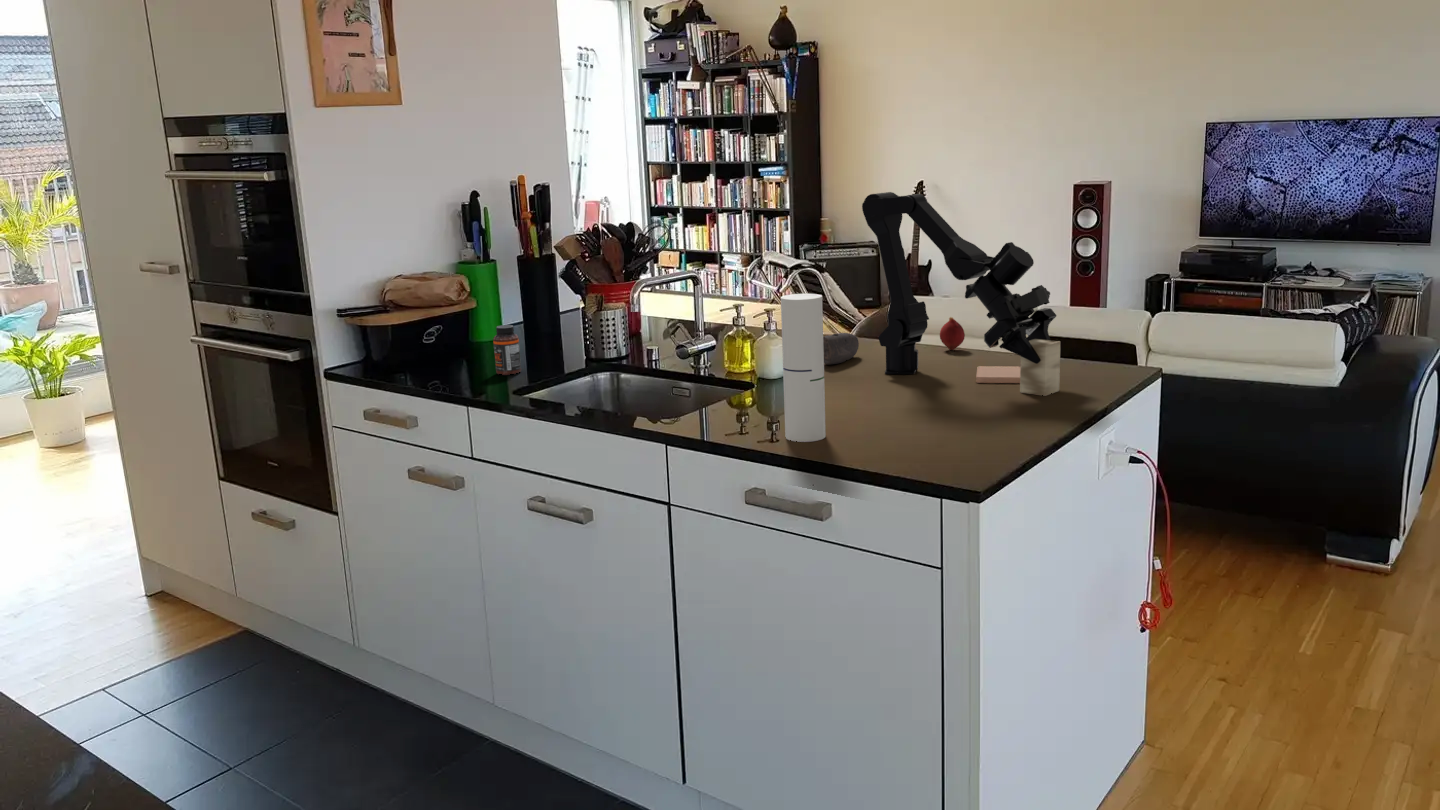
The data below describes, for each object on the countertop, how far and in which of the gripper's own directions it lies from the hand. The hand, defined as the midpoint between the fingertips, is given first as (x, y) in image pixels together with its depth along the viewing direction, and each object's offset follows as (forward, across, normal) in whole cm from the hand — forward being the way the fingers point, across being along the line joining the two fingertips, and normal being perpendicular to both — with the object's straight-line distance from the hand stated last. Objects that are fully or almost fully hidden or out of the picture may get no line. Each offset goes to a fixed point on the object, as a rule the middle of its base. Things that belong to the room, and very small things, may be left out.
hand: (1046, 359), depth 222 cm
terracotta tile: (-5, +7, +15) cm, 17 cm away
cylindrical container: (-7, -53, +17) cm, 56 cm away
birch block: (+4, 0, +6) cm, 7 cm away
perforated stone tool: (-33, +1, +43) cm, 55 cm away
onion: (-24, +26, +33) cm, 49 cm away
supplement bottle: (-74, -52, +84) cm, 123 cm away
